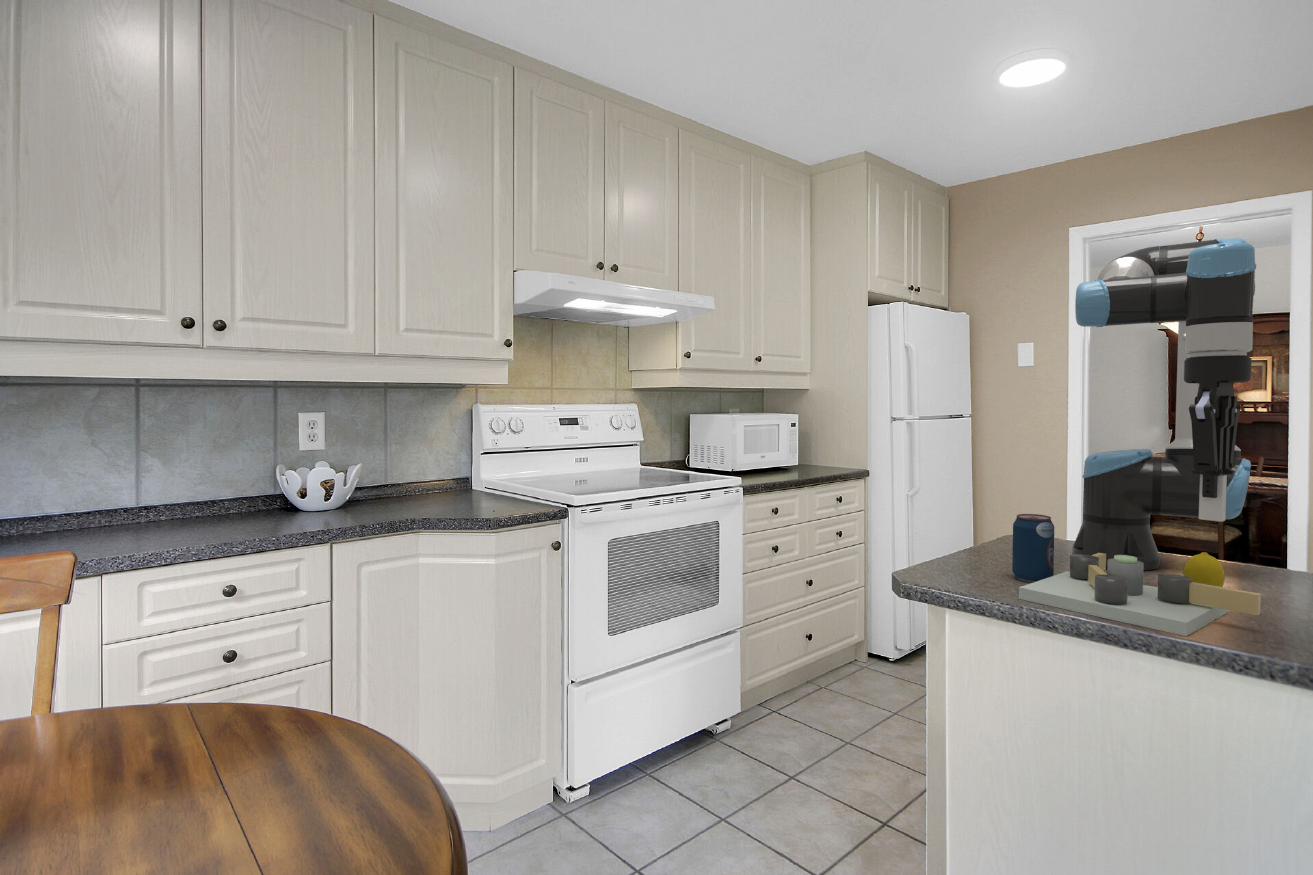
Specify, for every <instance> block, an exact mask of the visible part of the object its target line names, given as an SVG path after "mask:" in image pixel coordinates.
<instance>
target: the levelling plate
mask: <svg viewBox="0 0 1313 875" xmlns="http://www.w3.org/2000/svg"><path fill="white" fill-rule="evenodd" d="M1106 569H1107V571H1106V573H1107V574H1108V575H1116V576H1121V577H1125V578H1127V579H1128V598H1127V603H1123V604H1115V603H1107V602H1102V601H1099V600H1096V599H1095V598H1094V597H1095V588H1094V587H1093V586H1092V585H1091V584H1090V583H1089V582H1088V579H1079V578H1075V577H1072V576H1070V570H1067V571H1064V572H1061V573H1058V574H1055V575H1053V576H1052V577H1049V578H1046V579H1043V580H1040V581H1037V582H1034V583H1033V582H1030V583H1028V584H1025V585H1023V586H1019V587H1018V599H1019V600H1022V601H1026V602H1031V603H1035V604H1040V605H1045V606H1048V607H1054V608H1058V609H1062V610H1066V611H1072V612H1076V613H1081V614H1085V615H1089V616H1093V617H1098V618H1103V619H1108V620H1111V621H1115V622H1121V623H1125V624H1129V625H1134V626H1138V627H1143V628H1147V629H1151V630H1157V631H1161V632H1165V633H1169V634H1170V633H1171V634H1174V635H1179V636H1182V637H1187V636H1190V635H1191V634H1193V633H1194V632H1197V631H1199V630H1200V629H1201V628H1203V627H1205V626H1207V625H1209V624H1210V623H1212V622H1214V621H1215V619H1216V620H1218V619H1219V618H1221V617H1223V616H1224V615H1226V614H1228V612H1229V610H1227V609H1222V608H1216V607H1211V606H1206V605H1201V604H1195V603H1174V602H1168V601H1164V600H1161V599H1159V598H1158V597H1157V593H1158V586H1153V585H1145V584H1144V571H1145V570H1144V563H1142V562H1140V561H1137V558H1136V557H1134V556H1128V555H1115V556H1114V558H1113V559H1108V566H1107V568H1106ZM1208 623H1209V624H1208Z"/></svg>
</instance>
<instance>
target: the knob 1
mask: <svg viewBox="0 0 1313 875" xmlns="http://www.w3.org/2000/svg"><path fill="white" fill-rule="evenodd" d="M1088 565H1097V566H1098V567H1099V568H1100V569H1102V570H1103V571H1104V572H1105V571H1106V569H1107V568H1106V554H1104V553H1097V554H1094V555H1083V554H1073V555H1072V554H1070V555H1069V571H1070V576H1072V577H1075V578H1079V579H1088Z"/></svg>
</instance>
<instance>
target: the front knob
mask: <svg viewBox="0 0 1313 875" xmlns="http://www.w3.org/2000/svg"><path fill="white" fill-rule="evenodd" d="M1088 582H1089V583H1090V584H1091V585H1092V586H1093V587H1094V588H1095V597H1094V598H1095V599H1096V600H1099V601H1102V602H1107V603H1115V604H1123V603H1127V598H1128V579H1127V578H1125V577H1121V576H1116V575H1108V574H1107V572H1106V571H1105V570H1104V571H1103V570H1102V569H1100V568H1099V567H1098V566H1097V565H1088Z"/></svg>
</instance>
